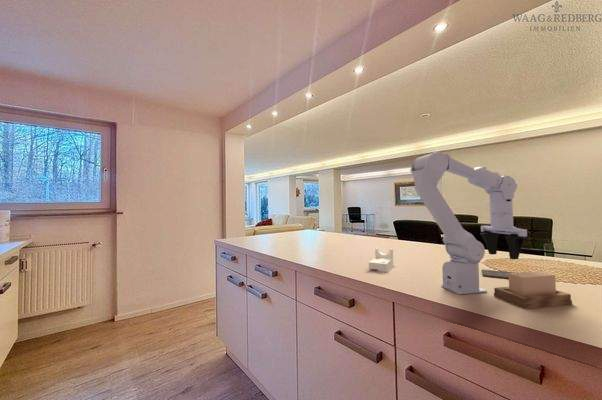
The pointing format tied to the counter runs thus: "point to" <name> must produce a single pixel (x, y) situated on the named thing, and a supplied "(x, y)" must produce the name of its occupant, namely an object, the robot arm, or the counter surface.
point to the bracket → (382, 260)
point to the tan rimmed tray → (533, 298)
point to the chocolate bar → (496, 274)
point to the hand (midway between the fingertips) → (503, 256)
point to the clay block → (532, 283)
